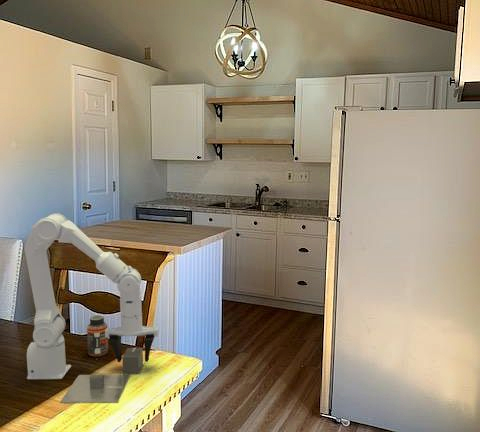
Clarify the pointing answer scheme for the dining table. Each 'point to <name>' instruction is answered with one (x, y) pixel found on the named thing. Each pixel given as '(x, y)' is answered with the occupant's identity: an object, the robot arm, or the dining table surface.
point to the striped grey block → (132, 361)
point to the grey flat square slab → (96, 389)
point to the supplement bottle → (97, 337)
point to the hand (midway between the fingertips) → (133, 360)
